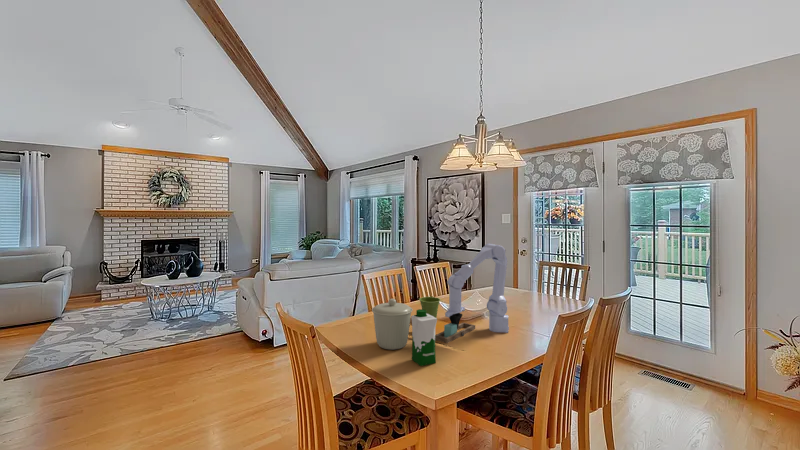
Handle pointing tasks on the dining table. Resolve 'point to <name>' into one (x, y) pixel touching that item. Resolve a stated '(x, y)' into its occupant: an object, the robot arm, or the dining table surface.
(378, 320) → the canister
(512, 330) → the dining table surface
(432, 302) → the plant pot
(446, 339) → the wooden tray
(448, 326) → the teal block
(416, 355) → the milk carton
